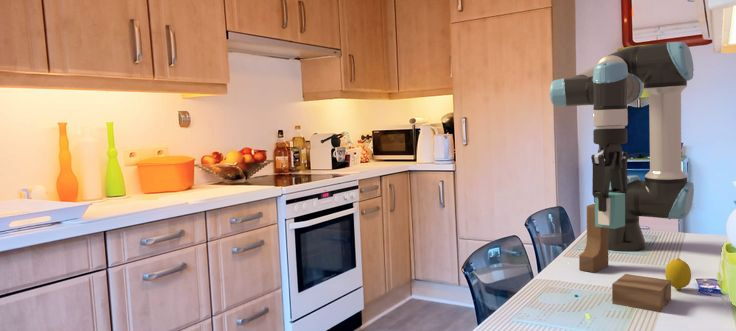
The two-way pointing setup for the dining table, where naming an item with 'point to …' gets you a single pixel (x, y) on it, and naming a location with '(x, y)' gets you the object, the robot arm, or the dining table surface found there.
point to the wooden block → (594, 245)
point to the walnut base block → (641, 292)
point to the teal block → (613, 211)
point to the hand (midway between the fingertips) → (610, 222)
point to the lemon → (678, 273)
